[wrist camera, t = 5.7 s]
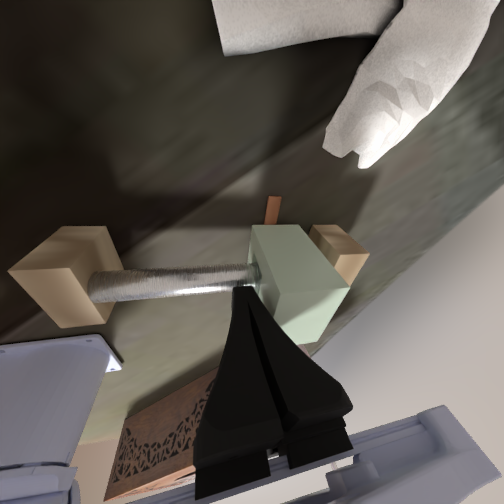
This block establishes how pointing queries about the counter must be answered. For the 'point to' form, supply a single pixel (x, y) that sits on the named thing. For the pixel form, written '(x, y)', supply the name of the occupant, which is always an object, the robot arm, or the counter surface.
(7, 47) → the counter surface
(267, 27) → the cloth
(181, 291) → the pipe
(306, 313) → the collar
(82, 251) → the pipe supports
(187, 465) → the tissue box cover
